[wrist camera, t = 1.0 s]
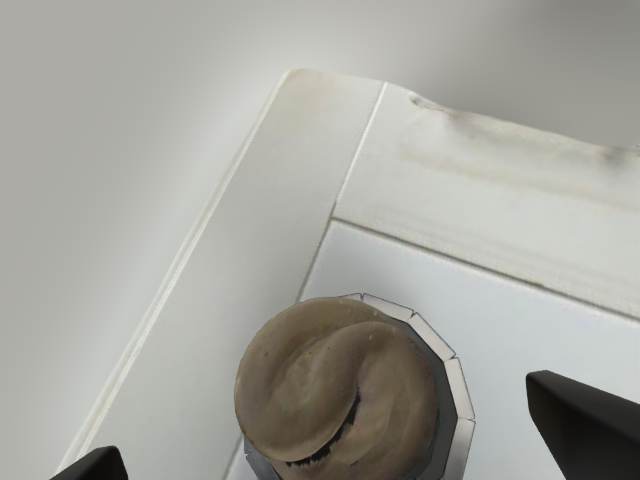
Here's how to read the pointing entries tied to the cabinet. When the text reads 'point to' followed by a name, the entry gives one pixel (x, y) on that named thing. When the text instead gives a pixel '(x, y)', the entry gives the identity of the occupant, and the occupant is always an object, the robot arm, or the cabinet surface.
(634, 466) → the robot arm
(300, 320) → the light bulb
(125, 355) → the cabinet surface
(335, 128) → the cabinet surface
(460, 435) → the faceted gray ring
